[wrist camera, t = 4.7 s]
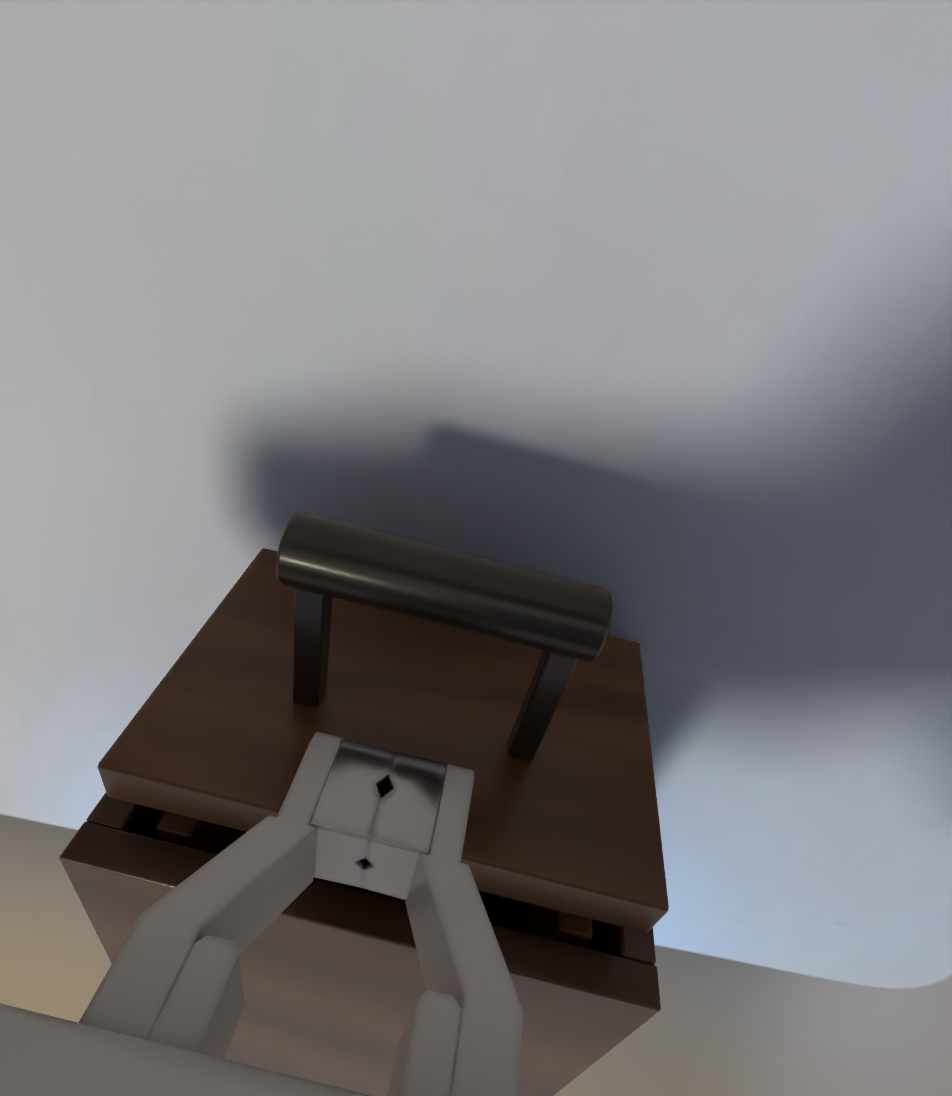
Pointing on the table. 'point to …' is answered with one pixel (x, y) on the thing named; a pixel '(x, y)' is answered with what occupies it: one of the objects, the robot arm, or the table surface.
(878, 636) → the table surface
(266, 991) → the cabinet
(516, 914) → the drawer
